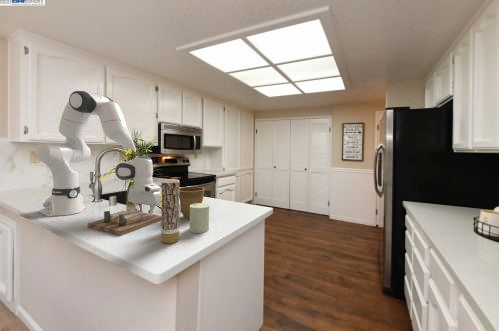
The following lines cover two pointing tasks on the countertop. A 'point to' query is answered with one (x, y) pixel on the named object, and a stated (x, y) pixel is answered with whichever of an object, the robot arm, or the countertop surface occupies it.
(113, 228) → the board
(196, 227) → the can
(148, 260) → the countertop surface
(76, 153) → the robot arm
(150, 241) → the countertop surface
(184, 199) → the plant pot
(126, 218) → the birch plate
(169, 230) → the grey patterned cylinder
